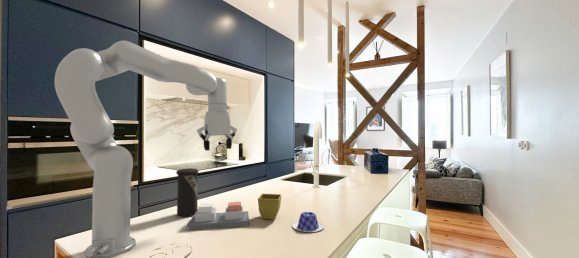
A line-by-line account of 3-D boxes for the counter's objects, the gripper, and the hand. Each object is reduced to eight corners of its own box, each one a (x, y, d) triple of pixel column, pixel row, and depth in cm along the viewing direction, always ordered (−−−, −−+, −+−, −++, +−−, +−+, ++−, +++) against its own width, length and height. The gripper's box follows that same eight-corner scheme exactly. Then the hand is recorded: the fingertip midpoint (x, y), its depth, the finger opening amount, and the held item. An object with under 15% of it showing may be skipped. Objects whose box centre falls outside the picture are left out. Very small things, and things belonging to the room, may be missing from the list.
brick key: (240, 212, 98) (241, 204, 98) (227, 213, 97) (228, 205, 97) (240, 208, 103) (241, 201, 103) (228, 209, 102) (228, 202, 102)
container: (193, 217, 104) (193, 170, 105) (172, 217, 105) (172, 169, 105) (201, 211, 113) (201, 167, 114) (181, 211, 113) (182, 167, 114)
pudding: (323, 235, 88) (323, 220, 88) (290, 232, 90) (290, 218, 90) (324, 223, 100) (324, 209, 100) (294, 221, 102) (294, 208, 102)
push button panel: (248, 226, 95) (249, 212, 95) (188, 230, 91) (188, 216, 91) (248, 215, 107) (248, 204, 107) (194, 219, 103) (194, 207, 103)
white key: (211, 214, 96) (212, 206, 96) (198, 215, 95) (198, 207, 95) (213, 210, 101) (213, 202, 101) (200, 211, 100) (200, 203, 100)
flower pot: (281, 214, 109) (281, 194, 109) (278, 221, 100) (278, 199, 100) (261, 214, 110) (261, 193, 110) (257, 221, 101) (257, 198, 101)
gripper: (231, 109, 112) (232, 147, 112) (193, 108, 101) (194, 150, 101) (240, 108, 107) (241, 148, 107) (200, 106, 95) (201, 151, 95)
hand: (218, 149), depth 104 cm, fingers open, 9 cm apart
